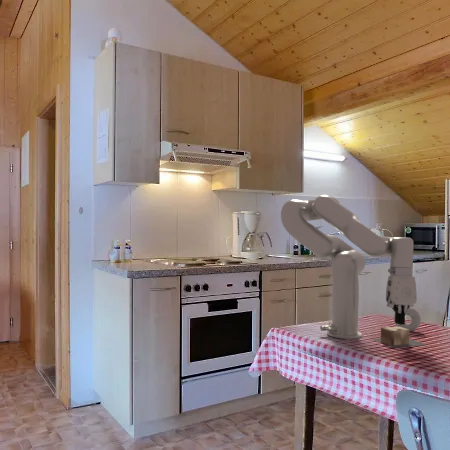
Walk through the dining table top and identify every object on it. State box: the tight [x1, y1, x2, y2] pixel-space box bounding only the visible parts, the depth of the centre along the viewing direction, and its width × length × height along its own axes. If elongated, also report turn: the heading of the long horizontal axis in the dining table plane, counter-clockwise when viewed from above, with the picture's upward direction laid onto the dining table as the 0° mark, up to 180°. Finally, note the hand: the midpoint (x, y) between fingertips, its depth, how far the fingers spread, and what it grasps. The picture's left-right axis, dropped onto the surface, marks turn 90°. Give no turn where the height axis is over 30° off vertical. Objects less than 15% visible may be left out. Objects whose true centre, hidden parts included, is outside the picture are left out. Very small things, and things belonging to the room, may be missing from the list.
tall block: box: [380, 326, 410, 346], centre depth 159 cm, size 5×5×8 cm
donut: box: [393, 307, 422, 333], centre depth 179 cm, size 10×3×10 cm, turn 73°
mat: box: [372, 337, 427, 348], centre depth 161 cm, size 14×12×1 cm
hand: (399, 323), depth 160 cm, fingers closed
